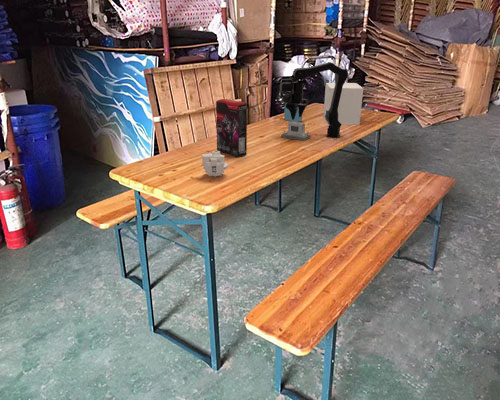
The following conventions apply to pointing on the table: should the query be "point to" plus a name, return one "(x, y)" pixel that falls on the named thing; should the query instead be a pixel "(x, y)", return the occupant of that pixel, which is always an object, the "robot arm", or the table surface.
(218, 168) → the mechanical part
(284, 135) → the pin tray
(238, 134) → the graphics card box
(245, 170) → the table surface
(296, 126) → the block
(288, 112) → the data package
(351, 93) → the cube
